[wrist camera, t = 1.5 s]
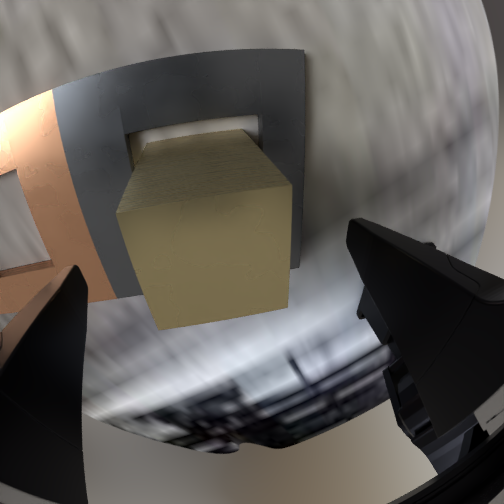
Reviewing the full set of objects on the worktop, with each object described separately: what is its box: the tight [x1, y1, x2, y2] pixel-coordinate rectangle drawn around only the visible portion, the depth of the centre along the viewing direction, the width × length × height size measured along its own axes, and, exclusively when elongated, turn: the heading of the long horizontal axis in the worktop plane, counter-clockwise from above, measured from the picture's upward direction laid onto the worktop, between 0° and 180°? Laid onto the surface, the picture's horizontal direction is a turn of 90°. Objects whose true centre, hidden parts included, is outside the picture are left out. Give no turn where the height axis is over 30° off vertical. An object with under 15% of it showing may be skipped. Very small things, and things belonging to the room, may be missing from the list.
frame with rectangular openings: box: [0, 49, 305, 314], centre depth 12 cm, size 22×12×1 cm, turn 92°
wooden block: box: [116, 129, 292, 330], centre depth 11 cm, size 4×4×7 cm
